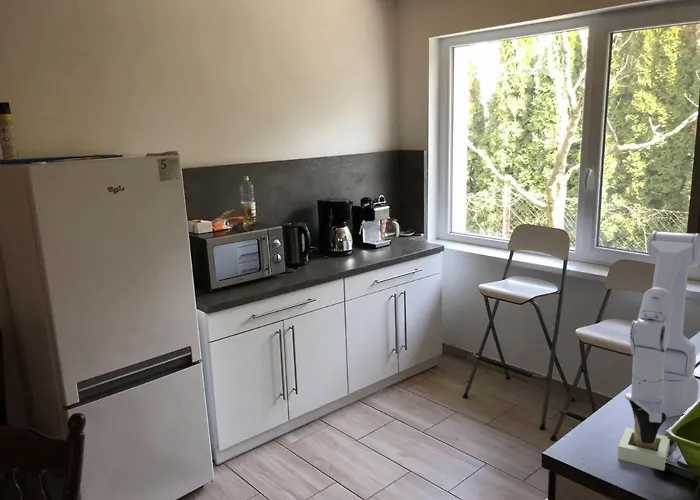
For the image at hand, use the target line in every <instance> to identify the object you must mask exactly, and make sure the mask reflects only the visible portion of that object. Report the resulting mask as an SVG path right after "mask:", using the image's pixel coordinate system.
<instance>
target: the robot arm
mask: <svg viewBox="0 0 700 500" xmlns="http://www.w3.org/2000/svg"><path fill="white" fill-rule="evenodd" d="M647 254H648V256H649V257H650V261H651V262H652V263H654V264H655V265H654V273H653V280H652V284H651V285H652V286H651V288H649V289H648V290H646V291H645V292H644V293H643V297H642V300H641V305H640V307H639V312H638V314H637V315H638V316H637V319H636V320H633V321H632V323H631V326H630V330H629V343H630V353H631V355H632V368H631V369H632V370H631V372H632V373H631V391H630V392H626V393H624V397H625V400H627V401H628V402H629V403H630V406H631V409H632V415H633V417H634V418H633V419H634V421H635V415H636V417H637V419H638V422H639V427H640V436H641V440H642V442H643V443H652V444H653V443H654V441H655V438H656V435H657V434H658V432H659V430H660V428H661V426H662V425H663V424H664V423H665V422H666V420H667V418H672V417H679V416H683V415H682V414H683V413H684V412H685V411H686V410H687V409H688V408H689V407H691V406H692V405H693V404H694V403H695V402H696V401H697V402H698V398H699V397H698V396H699V395H698V394H699V383H698V380H697V378H696V376H695V375H694V373H695V369H696V362H697V355H696V345H695V343H694V342H692V341H691V340H690V339H688V338H687V336H685V335H684V326H685V325H684V324H685V313H686V311H685V310H686V299H687V286H688V275H689V273H690V271H691V269H693V268H697V267H699V266H700V233H686V232H670V231H669V232H668V231H658V230H654V231H652V233H650V235H649V238H648V245H647ZM639 408H642V409H644V410H645V411H644V410H636V409H639Z"/></svg>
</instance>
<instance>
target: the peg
mask: <svg viewBox="0 0 700 500" xmlns="http://www.w3.org/2000/svg"><path fill="white" fill-rule="evenodd" d="M636 410H644V409H642V408H639V409H636ZM644 411H645V410H644ZM634 429H635V431H634V443H635V444H636V445H637V446H639V447H641V448H646V449H651V448H654V447H655V446H656V438H655V441H654V443H653V444H652V443H643V442H642V440H641V436H640V427H639V422H638V419H637V417H636V415H635V420H634Z"/></svg>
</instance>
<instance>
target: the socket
mask: <svg viewBox="0 0 700 500" xmlns="http://www.w3.org/2000/svg"><path fill="white" fill-rule="evenodd" d="M634 431H635V428H630V427H625V429H624V431H623V433H622V436H621V438H620V441H619V444H618V453H617V459H618V460H621V461H625V462H629V463H633V464H636V465H641V466H643V467H647V468H652V469H656V470H659V471H662V472H663V471H665V469H666V465H665V463H666V464H667V461H666V459H667V460H668V457H669V453H670V447H671V446H670V444H671V443H670V442H671V438H670V439H668V438H667V437H668V436H667V435H662V434H658V433H657V435H656V446H655V447H654V448H651V449H646V448H641V447H639V446H637V445H636V444H635V443H634ZM657 450H658V451H657ZM668 452H669V453H668ZM667 456H668V457H667Z"/></svg>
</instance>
